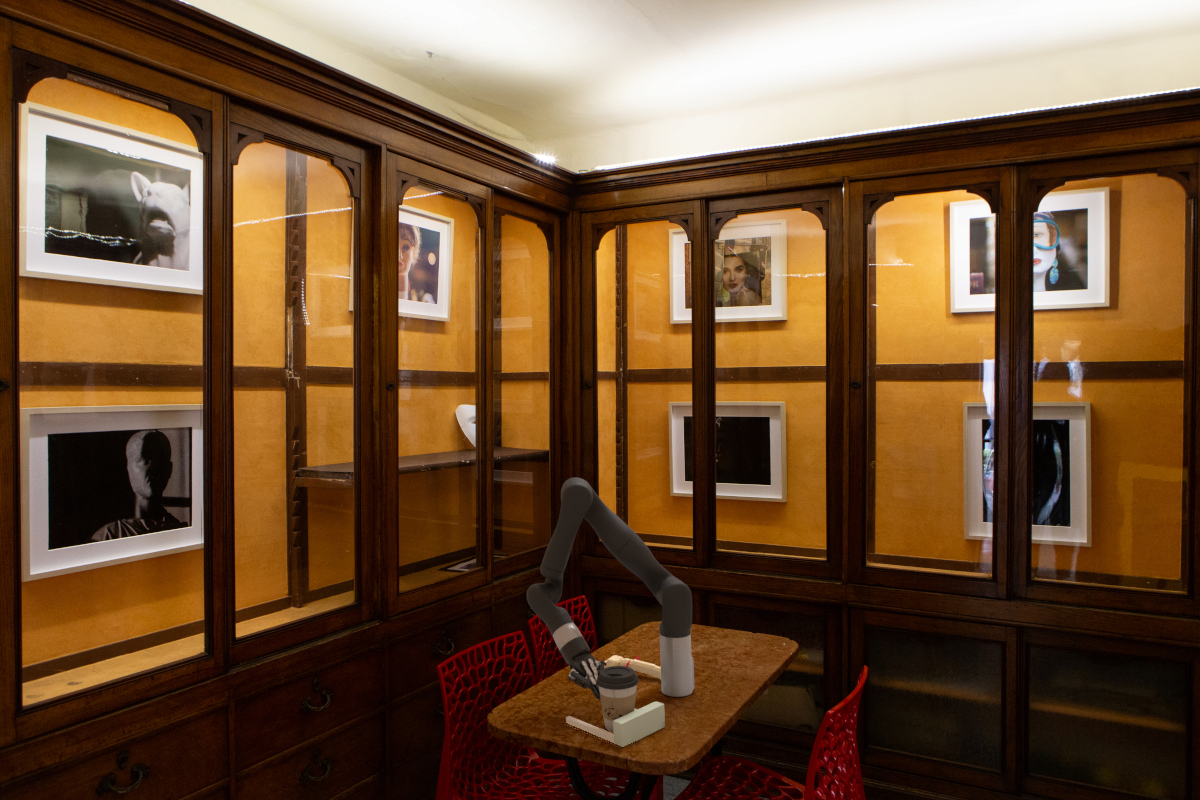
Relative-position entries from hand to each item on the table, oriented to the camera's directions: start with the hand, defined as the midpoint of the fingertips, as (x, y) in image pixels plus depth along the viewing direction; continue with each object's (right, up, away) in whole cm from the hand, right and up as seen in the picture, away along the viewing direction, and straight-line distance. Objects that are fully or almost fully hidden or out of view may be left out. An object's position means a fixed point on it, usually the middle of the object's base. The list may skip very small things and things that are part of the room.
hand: (602, 697), depth 205 cm
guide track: (+3, -6, -3) cm, 8 cm away
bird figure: (+12, -7, +33) cm, 36 cm away
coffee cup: (+4, -6, -5) cm, 9 cm away
